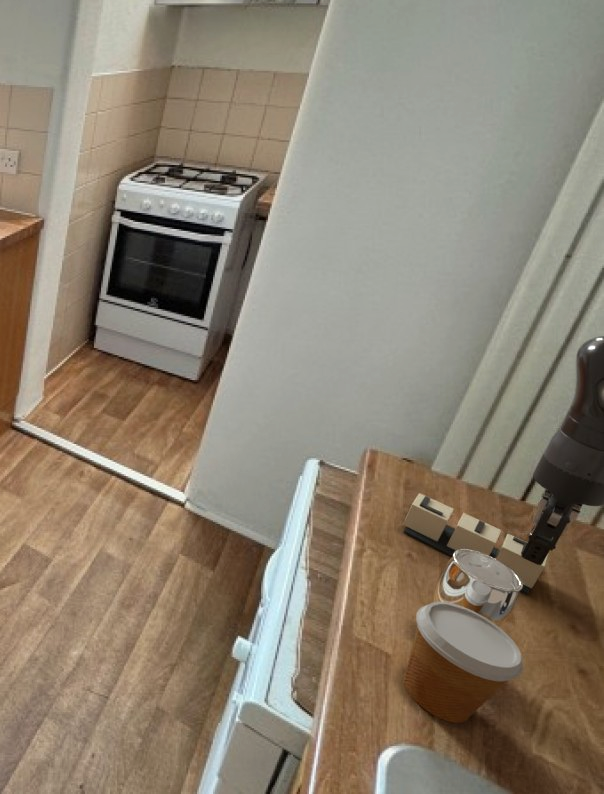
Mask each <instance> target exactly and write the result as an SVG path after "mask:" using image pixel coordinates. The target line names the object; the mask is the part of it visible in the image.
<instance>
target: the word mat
mask: <svg viewBox="0 0 604 794" xmlns="http://www.w3.org/2000/svg"><path fill="white" fill-rule="evenodd" d="M454 530H455V527H452V526H451V525H448V524H447V525H446V527H445V529H444V530H443V532H442V534H441V536H440V538H439V540H438V541H435V540H433V539H431V538H429V537H427V536H425V535H423V534H421V533H419V532H417V531H415V530H413V529H411V528H409V527H407V526H405V528H404V530H403V534H406V535H408V536H409V537H411V538H414V539H415V540H417V541H419V542H421V543H423V544H425V545H426V546H429V547H431V548H433V549H435V550H437V551H439V552H441V553H443V554H445V555H447V556H448V557H450V558H451V557H452V556H453V554H454V552H455V551H456V550H454V549H452V548H450V547H448V546H447V544H448V542H449V540H450V538H451V536H452V534H453V532H454ZM499 549H500V548H496V547H494V548H493V550H492V552H491V553H490V555H489V556H491V557H493V558H495V557H496V554H497V552H498V551H499ZM530 590H531V588H530V587H528V586H526V585H524V584H523V587H522V589H521V591H520V593H523V594H525V595H529V593H530Z"/></svg>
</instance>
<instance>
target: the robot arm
mask: <svg viewBox="0 0 604 794" xmlns="http://www.w3.org/2000/svg"><path fill="white" fill-rule="evenodd" d="M575 354H576V355H575V386H574V393H573V398H572V401H571V404H570V407H569V408H568V410H567V412H566V415H565V416H564V418H563V420H562V422H561V424H560V426H559V428H558V429H557V430H556V432H555V433H554V434H553V436H552V437H551V438H550V440H549V442H548V443H547V446H546V448H545V449H544V452H543V453H542V455H541V457H540V459H539V461H538V463H537V465H536V467H535V469H534V470H533V474H532V477H533V479H534V480H535V482H536V483H537V484H539V486H540V487H541V488H543V489H544V490H543V492H542V494H541V496H540V498H539V500H538V503H537V506H538V508H537V510H536V512H535V514H534V516H533V518H532V520H531V523H532V524H533V527H532V529H531V532H529V534H528V537H527V538H528V542H527V545H526V547H525V548H524V550H523V552H522V554H521V556H522V557H523V558H524V559H526V560H528V561H530V562H533V563H535V564H537V565H542V564H543V562H544V560H545V558H546V556H547V555H548V556H549V554H550V551H551V552H553V550H556V548H557V544H558V541H559V539H560V537H564V536H566V535H567V533H568V531H569V529H570V527H571V525H572V523H573V522H574V521H576V520H577V519H578V518H579V515H580V514H581V509H582V507H583V506H588V507H603V506H604V335H600V336H595V337H592V338H590V339H588V340H586V341H584V342H583V343H582V344H581V345H580V346H579V348H578V349H577V351H576V353H575ZM548 553H549V554H548Z"/></svg>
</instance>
